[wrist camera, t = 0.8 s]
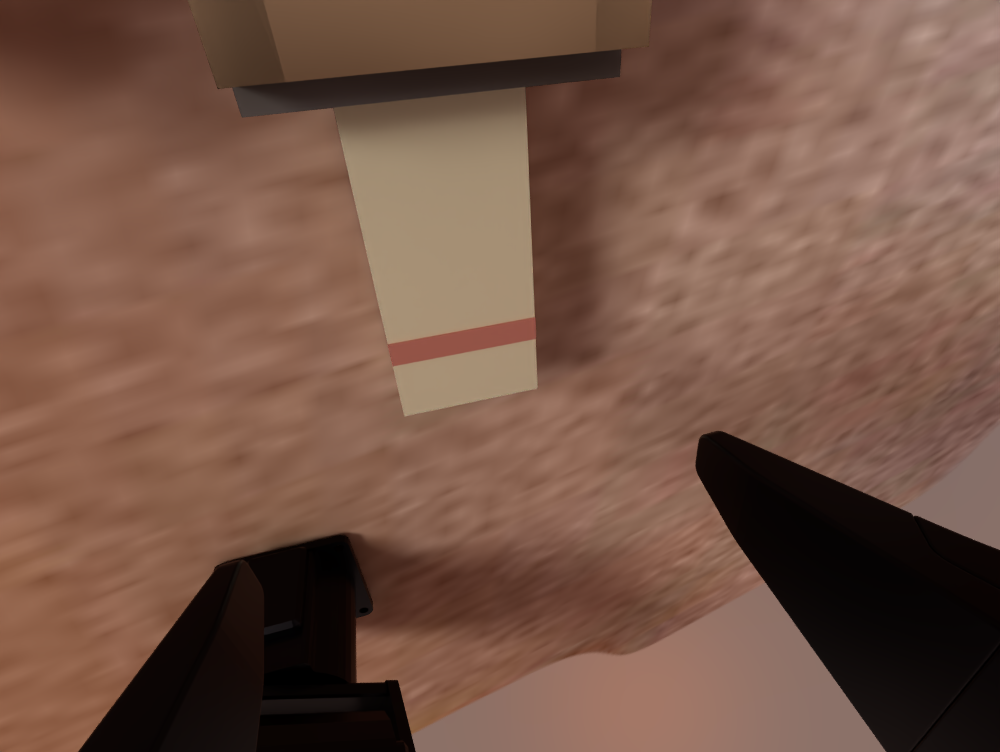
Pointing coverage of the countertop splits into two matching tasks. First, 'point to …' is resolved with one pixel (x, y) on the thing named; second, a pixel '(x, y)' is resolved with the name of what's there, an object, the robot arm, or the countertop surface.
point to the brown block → (408, 47)
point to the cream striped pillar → (448, 241)
